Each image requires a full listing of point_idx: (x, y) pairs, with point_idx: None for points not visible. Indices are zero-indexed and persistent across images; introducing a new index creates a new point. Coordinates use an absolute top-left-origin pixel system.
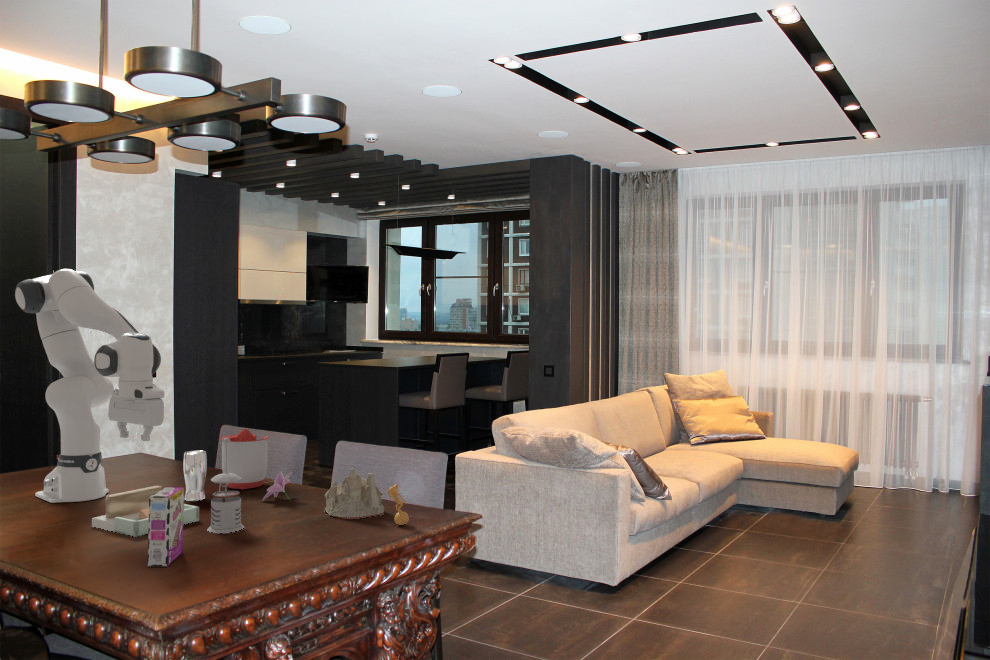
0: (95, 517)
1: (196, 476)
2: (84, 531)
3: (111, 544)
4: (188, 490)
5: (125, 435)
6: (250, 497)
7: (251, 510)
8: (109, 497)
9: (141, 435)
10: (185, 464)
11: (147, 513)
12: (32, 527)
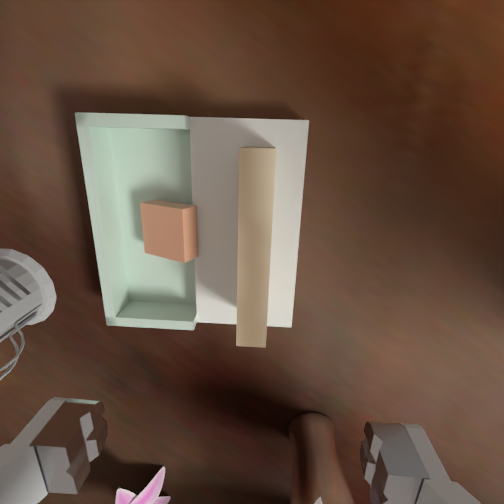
0: (303, 130)
1: (296, 481)
2: (281, 75)
3: (83, 24)
4: (315, 437)
5: (374, 455)
6: (216, 481)
7: (116, 413)
8: (251, 148)
9: (64, 439)
10: None
11: (164, 215)
12: (480, 6)
